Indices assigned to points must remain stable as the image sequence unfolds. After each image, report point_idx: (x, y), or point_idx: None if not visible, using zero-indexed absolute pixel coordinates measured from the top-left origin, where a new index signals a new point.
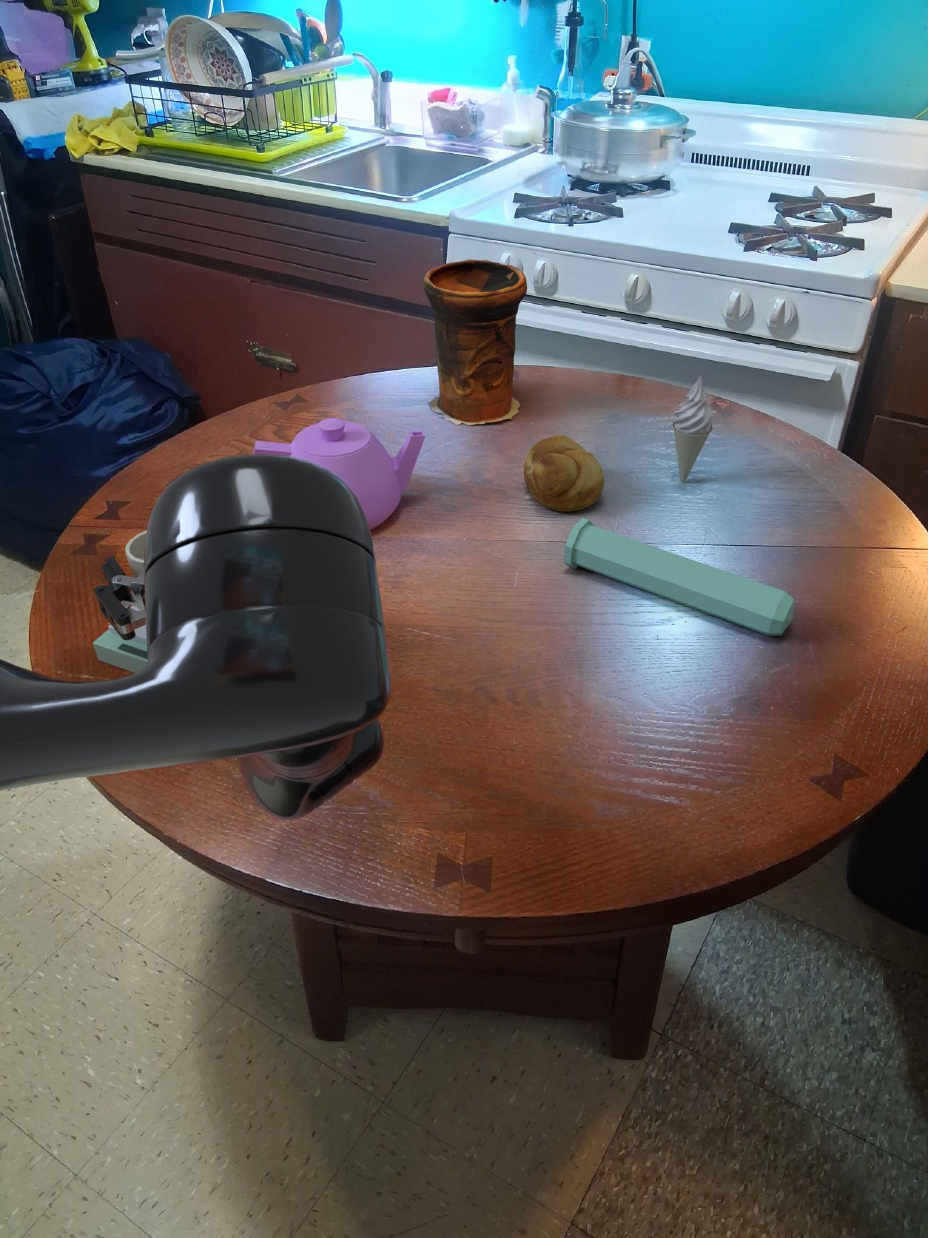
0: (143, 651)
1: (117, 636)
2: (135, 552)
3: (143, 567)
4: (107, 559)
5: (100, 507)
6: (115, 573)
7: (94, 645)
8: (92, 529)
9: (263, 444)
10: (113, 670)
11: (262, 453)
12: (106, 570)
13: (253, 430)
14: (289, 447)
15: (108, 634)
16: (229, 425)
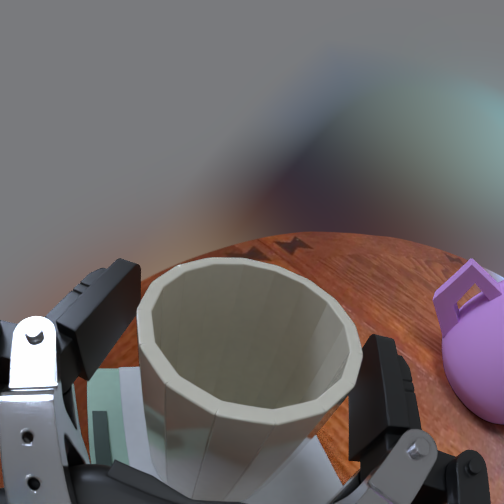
0: (108, 456)
1: (118, 391)
2: (203, 295)
3: (140, 361)
4: (115, 263)
5: (286, 237)
6: (71, 310)
7: None
8: (263, 247)
9: (478, 266)
10: (87, 421)
11: (474, 275)
12: (85, 286)
13: (428, 260)
14: (499, 287)
15: (114, 376)
16: (412, 247)
